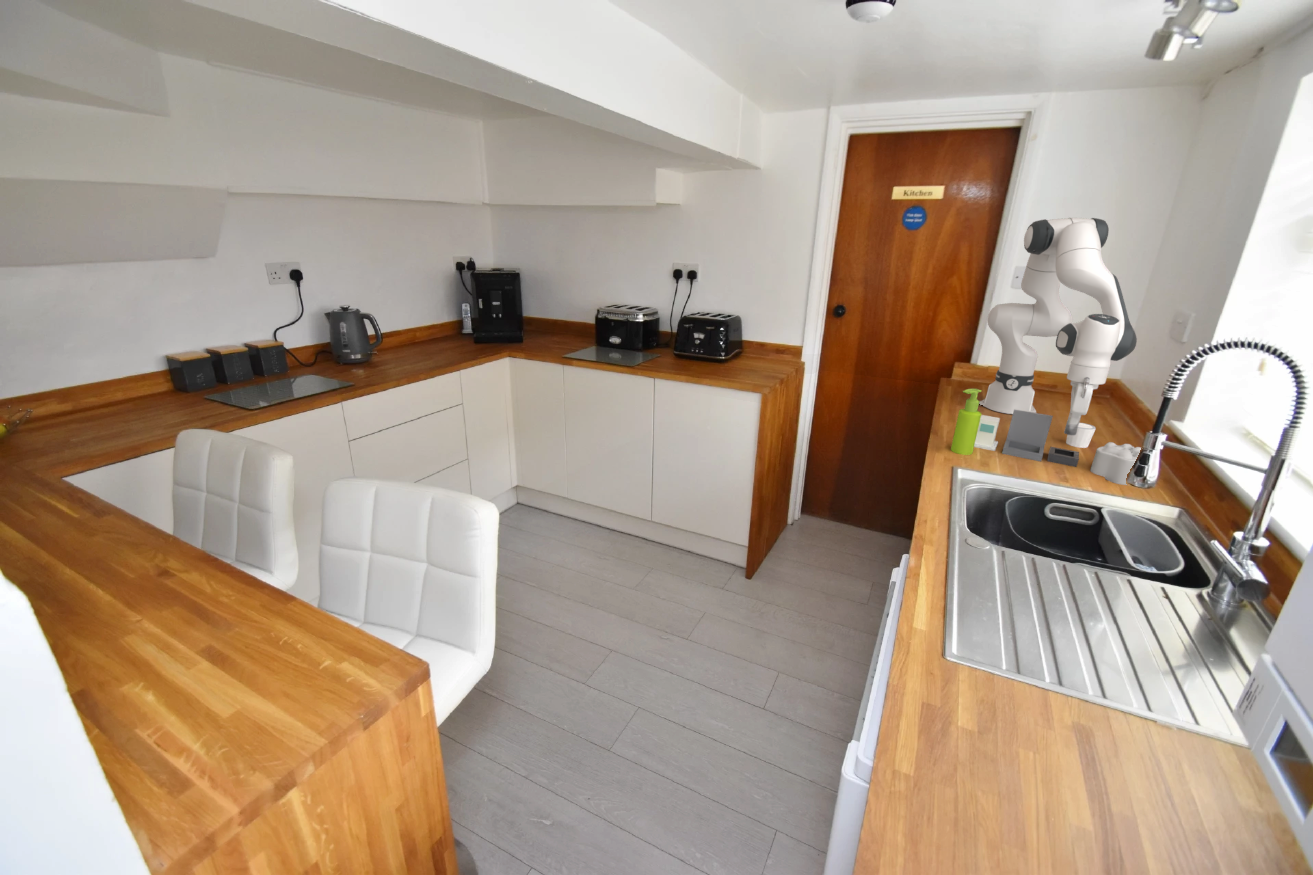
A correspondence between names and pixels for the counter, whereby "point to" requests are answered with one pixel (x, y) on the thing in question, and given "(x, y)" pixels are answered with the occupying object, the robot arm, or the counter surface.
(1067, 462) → the rod bracket
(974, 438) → the soap dispenser
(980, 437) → the block
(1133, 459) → the lumpy-topped squat cylinder
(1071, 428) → the rod
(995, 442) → the plate
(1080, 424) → the white faceted tapered cup
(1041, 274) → the robot arm
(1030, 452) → the grey device stand
